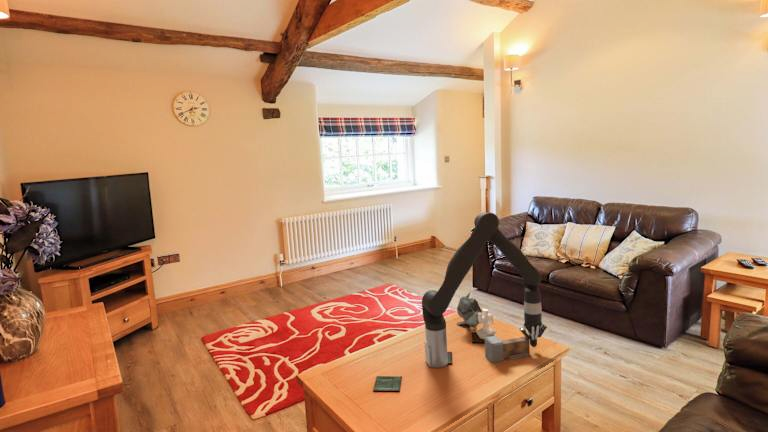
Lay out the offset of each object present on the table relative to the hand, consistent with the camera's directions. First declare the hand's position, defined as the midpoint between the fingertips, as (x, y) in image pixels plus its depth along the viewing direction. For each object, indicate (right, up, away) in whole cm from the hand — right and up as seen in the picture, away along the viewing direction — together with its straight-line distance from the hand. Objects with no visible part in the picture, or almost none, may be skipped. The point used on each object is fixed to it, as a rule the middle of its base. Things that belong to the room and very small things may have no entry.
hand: (533, 346), depth 196 cm
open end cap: (-9, -3, -1) cm, 9 cm away
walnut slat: (-10, -3, -2) cm, 10 cm away
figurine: (-18, -1, +17) cm, 25 cm away
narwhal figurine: (-23, 0, +28) cm, 37 cm away
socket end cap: (-19, -4, -4) cm, 20 cm away
